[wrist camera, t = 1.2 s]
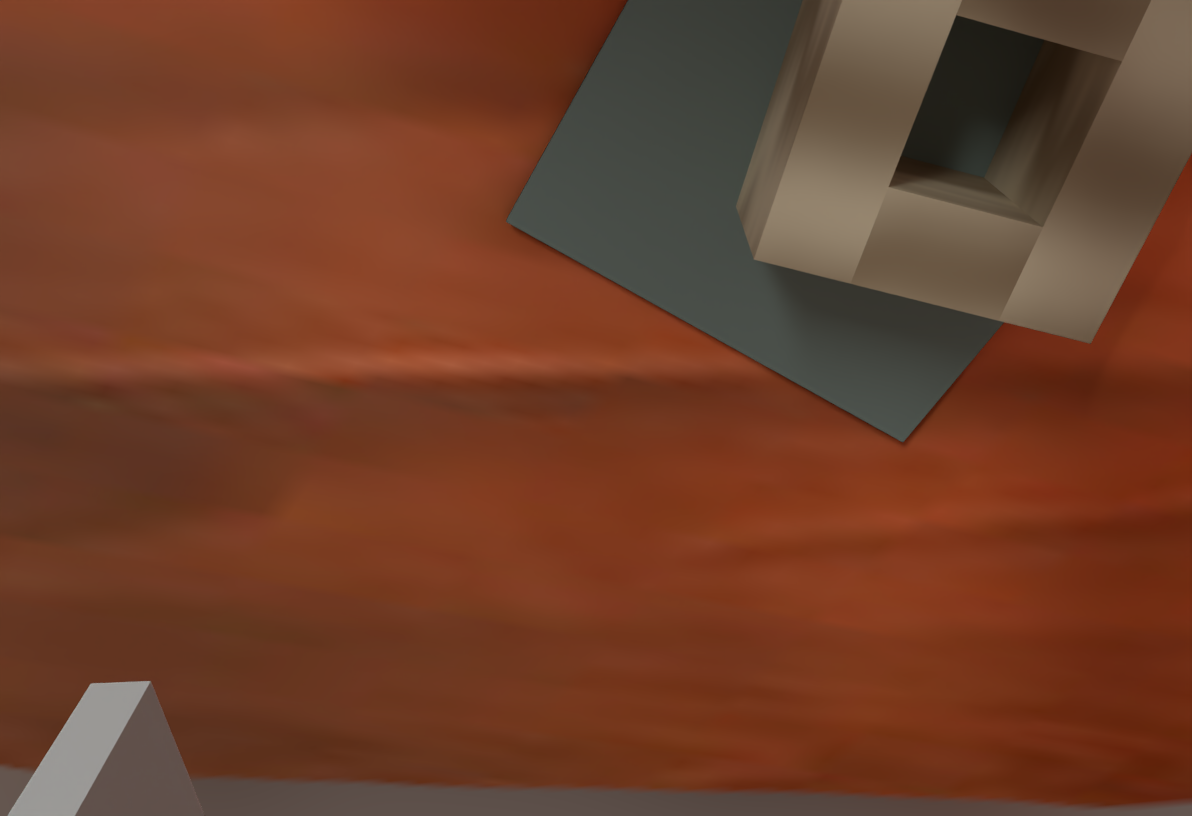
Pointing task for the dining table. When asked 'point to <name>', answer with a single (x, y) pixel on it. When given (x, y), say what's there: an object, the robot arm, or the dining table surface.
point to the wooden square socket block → (1015, 175)
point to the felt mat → (714, 181)
